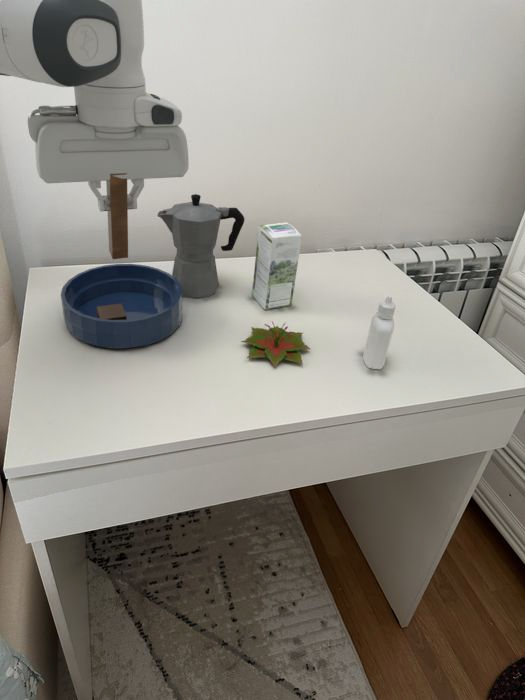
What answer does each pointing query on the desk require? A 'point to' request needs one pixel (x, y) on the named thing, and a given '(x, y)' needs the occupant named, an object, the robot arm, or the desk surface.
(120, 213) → the stick
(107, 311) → the block
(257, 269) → the syrup box
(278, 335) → the lily flower
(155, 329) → the bowl
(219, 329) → the desk surface
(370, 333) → the eye dropper bottle
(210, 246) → the coffeepot
